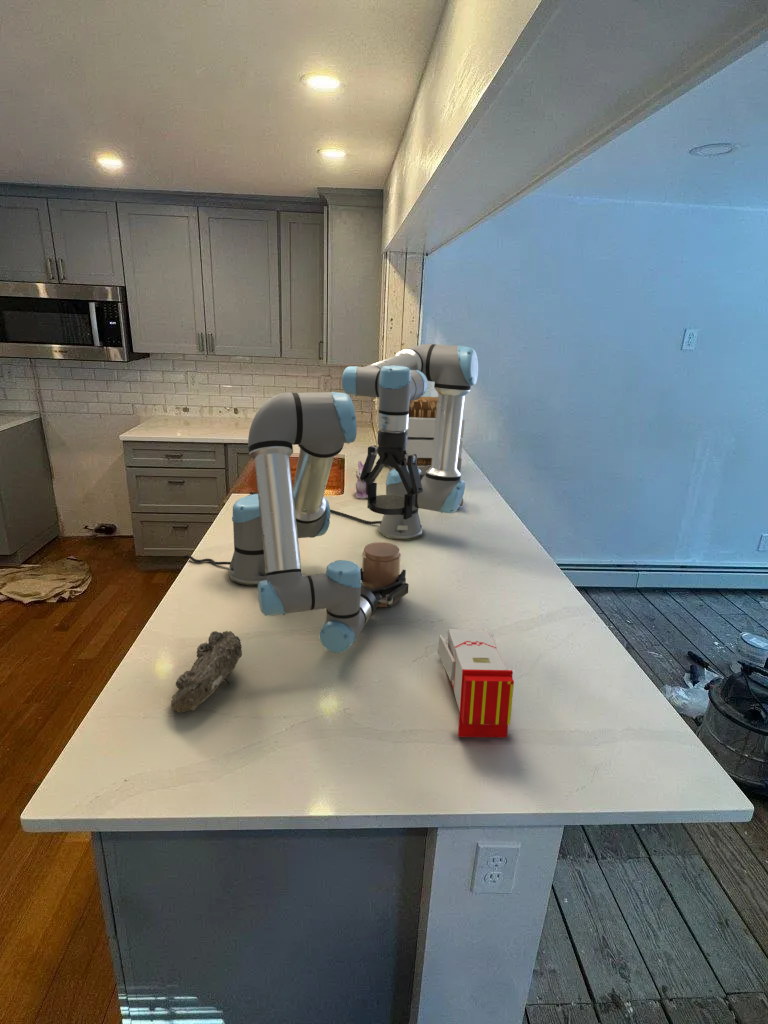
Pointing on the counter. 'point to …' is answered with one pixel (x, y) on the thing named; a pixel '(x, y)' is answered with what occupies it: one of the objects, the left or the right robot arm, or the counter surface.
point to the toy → (478, 682)
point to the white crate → (424, 431)
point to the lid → (387, 504)
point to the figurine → (360, 483)
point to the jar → (380, 565)
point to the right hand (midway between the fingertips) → (389, 512)
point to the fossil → (207, 670)
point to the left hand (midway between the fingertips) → (385, 570)
